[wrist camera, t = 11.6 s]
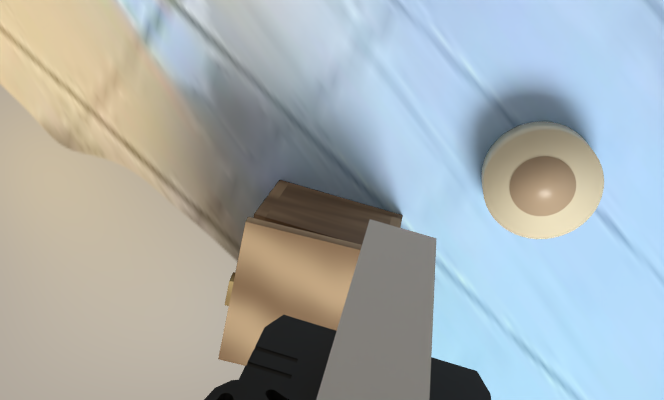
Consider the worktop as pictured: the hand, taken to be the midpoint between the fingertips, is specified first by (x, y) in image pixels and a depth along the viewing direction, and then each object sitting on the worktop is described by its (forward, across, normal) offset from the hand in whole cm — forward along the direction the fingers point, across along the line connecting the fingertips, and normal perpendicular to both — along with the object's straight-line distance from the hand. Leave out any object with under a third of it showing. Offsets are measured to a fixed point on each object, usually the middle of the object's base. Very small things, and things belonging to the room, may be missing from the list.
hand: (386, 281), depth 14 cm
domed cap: (+33, +10, -6) cm, 35 cm away
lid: (+25, -4, -17) cm, 31 cm away
